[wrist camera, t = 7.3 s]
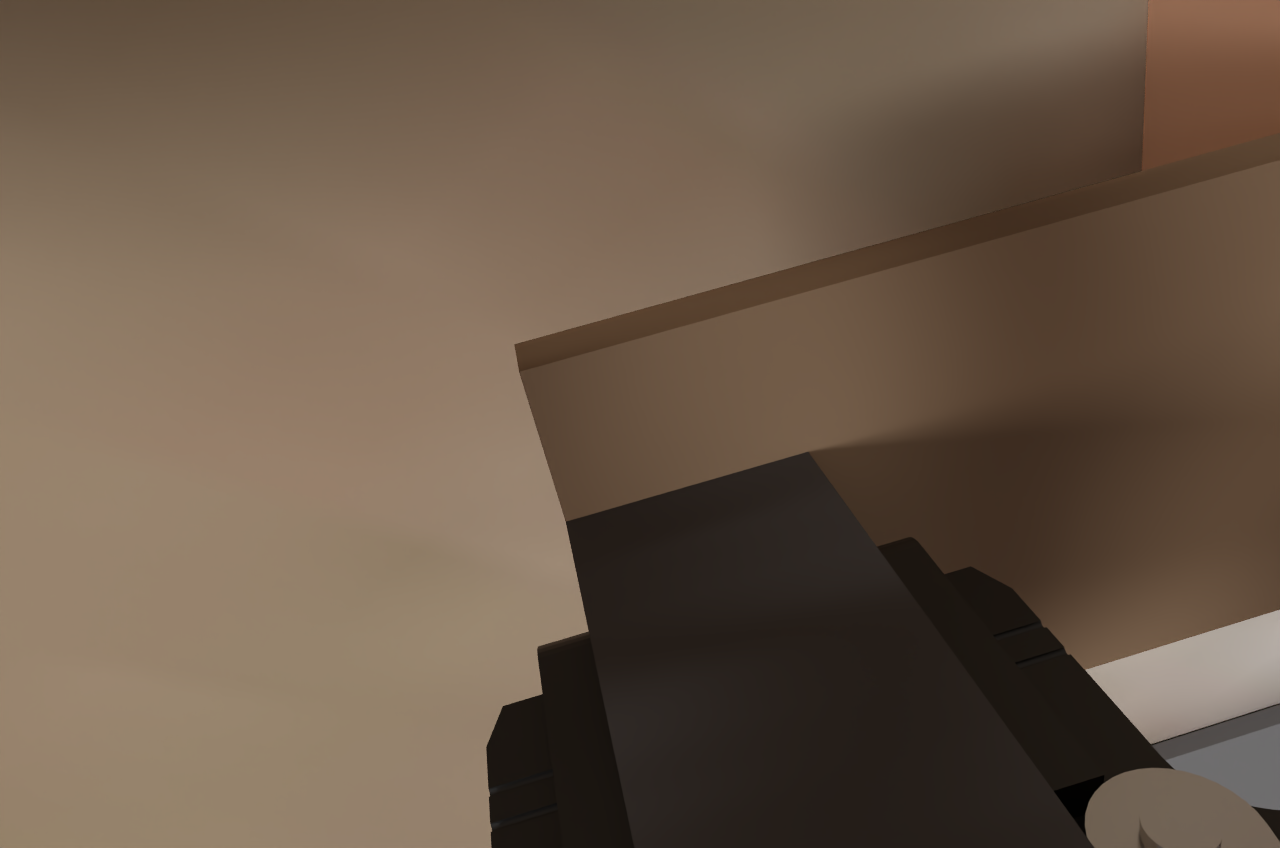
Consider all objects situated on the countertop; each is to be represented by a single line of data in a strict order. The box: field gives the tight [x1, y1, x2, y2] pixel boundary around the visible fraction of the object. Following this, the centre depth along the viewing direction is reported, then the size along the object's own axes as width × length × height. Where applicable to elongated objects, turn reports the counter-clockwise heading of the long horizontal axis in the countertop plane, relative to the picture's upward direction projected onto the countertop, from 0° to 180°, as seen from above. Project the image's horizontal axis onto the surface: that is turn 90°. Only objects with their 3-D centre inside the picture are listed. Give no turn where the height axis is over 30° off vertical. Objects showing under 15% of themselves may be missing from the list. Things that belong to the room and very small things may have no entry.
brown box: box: [515, 133, 1280, 848], centre depth 10 cm, size 10×7×7 cm
